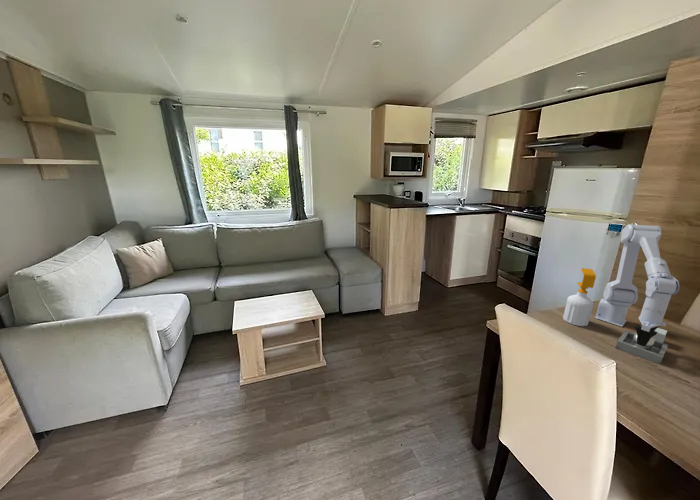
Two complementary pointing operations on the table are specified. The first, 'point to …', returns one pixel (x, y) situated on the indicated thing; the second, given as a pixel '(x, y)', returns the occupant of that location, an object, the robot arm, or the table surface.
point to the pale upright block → (660, 335)
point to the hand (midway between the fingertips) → (643, 341)
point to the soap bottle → (580, 301)
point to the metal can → (647, 347)
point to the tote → (653, 355)
